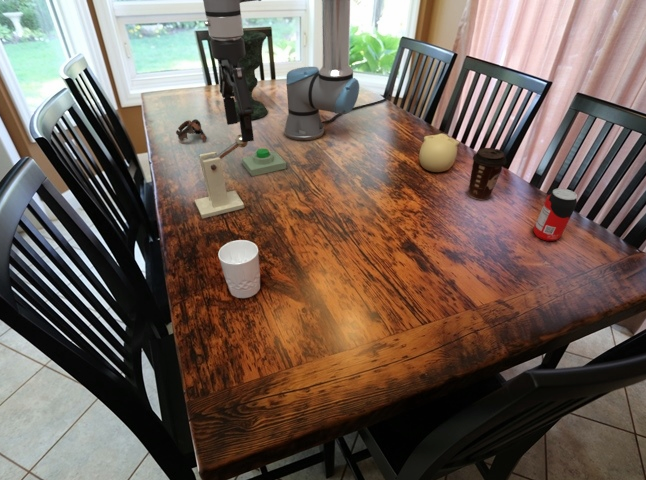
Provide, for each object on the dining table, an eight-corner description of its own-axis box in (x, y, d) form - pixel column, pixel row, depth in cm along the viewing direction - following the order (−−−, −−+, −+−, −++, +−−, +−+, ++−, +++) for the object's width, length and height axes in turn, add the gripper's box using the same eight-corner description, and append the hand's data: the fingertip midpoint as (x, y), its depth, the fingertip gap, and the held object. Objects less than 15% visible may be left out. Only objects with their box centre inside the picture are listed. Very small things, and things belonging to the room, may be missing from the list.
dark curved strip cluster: (205, 146, 141) (189, 129, 135) (186, 155, 145) (170, 139, 140) (212, 126, 148) (197, 109, 142) (194, 135, 152) (179, 119, 146)
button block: (275, 157, 133) (274, 146, 130) (286, 168, 126) (285, 157, 123) (242, 164, 129) (240, 152, 126) (251, 176, 122) (250, 164, 119)
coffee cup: (494, 190, 114) (508, 148, 105) (494, 204, 108) (509, 161, 99) (464, 186, 116) (475, 144, 107) (462, 199, 110) (474, 156, 101)
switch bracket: (235, 193, 113) (227, 146, 104) (244, 208, 107) (236, 158, 98) (195, 203, 109) (182, 154, 100) (202, 218, 103) (189, 168, 94)
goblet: (282, 111, 169) (277, 33, 150) (249, 126, 155) (239, 42, 135) (245, 102, 178) (235, 28, 159) (210, 117, 164) (195, 37, 144)
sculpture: (455, 163, 128) (463, 131, 121) (449, 178, 119) (456, 145, 112) (422, 157, 131) (427, 126, 124) (413, 172, 123) (418, 139, 116)
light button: (266, 152, 127) (266, 147, 126) (270, 157, 124) (270, 152, 123) (255, 154, 126) (254, 149, 125) (259, 159, 123) (258, 154, 122)
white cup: (228, 276, 85) (220, 240, 79) (263, 274, 86) (258, 238, 79) (224, 301, 79) (215, 265, 73) (262, 299, 80) (257, 262, 73)
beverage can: (557, 246, 93) (579, 203, 85) (529, 238, 95) (548, 196, 88) (560, 233, 97) (581, 191, 89) (534, 225, 99) (552, 184, 92)
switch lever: (247, 140, 102) (241, 130, 100) (251, 144, 100) (245, 134, 98) (208, 168, 102) (201, 159, 100) (211, 173, 100) (204, 163, 98)
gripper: (197, 30, 92) (213, 119, 106) (225, 49, 75) (240, 152, 89) (227, 28, 95) (239, 115, 108) (261, 45, 77) (270, 146, 91)
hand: (240, 132), depth 98 cm, fingers open, 13 cm apart
